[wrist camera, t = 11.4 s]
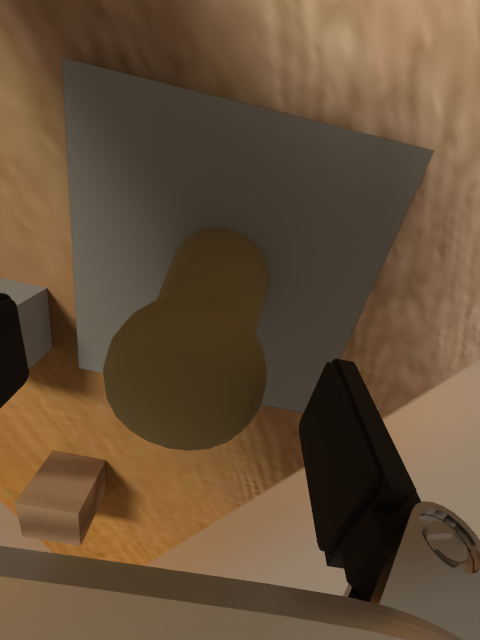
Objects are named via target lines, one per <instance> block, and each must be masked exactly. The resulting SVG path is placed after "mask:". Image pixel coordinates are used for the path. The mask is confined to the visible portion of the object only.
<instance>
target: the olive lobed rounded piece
mask: <svg viewBox="0 0 480 640" xmlns="http://www.w3.org/2000/svg"><path fill="white" fill-rule="evenodd" d="M269 278H270V276H269V270H268V265H267V261H266V259H265V257H264V255H263V254H262V252H261V250H260V248H259V247H258V246H257V245H256V244H255V243H254V242H252V241H251V240H250V239H249V238H248V237H247V236H245V235H243V234H241V233H238V232H236V231H234V230H232V229H223V228H211V229H206V230H201V231H198V232H197V233H195V234H193V235H192V236H190V237H188V238H187V239H185V241H184V242H183V243H182V244H181V246H180V247H179V248H178V249H177V251H176V252H175V255H174V257H173V260H172V262H171V265H170V267H169V270H168V272H167V275H166V277H165V280H164V282H163V285H162V287H161V290H160V292H159V295H158V297H157V300H156V301H153V302H152V303H150V304H148V305H146V306H145V307H143V308H141V309H139V310H137V311H136V312H134V313H133V314H132V315H131V316H130V317H129V318H128V319H127V321H126V322H125V323H124V324H123V325H122V327H121V328H120V329H119V330H118V332H117V333H116V334H115V335H114V337H113V338H112V340H111V343H110V346H109V349H108V352H107V356H106V360H105V363H104V367H103V375H104V382H105V389H106V395H107V400H108V402H109V404H110V406H111V408H112V409H113V411H114V413H115V415H116V417H117V418H118V419H119V420H120V421H121V422H122V423H123V424H124V425H125V426H126V427H127V428H128V429H129V430H130V431H132V432H134V433H135V434H137V435H138V436H140V437H142V438H143V439H145V440H147V441H148V442H151V443H154V444H157V445H160V446H163V447H166V448H171V449H180V450H188V451H190V450H200V449H209V448H212V447H215V446H218V445H220V444H223V443H226V442H228V441H229V440H231V439H232V438H233V437H235V436H236V435H237V434H239V433H240V432H241V431H242V430H243V429H244V428H245V427H246V426H247V425H248V424H249V423H250V422H251V420H252V419H253V417H254V416H255V414H256V413H257V411H258V410H259V408H260V406H261V403H262V400H263V397H264V392H265V386H266V381H267V366H266V361H265V356H264V352H263V347H262V344H261V342H260V340H259V339H258V337H257V335H256V331H257V327H258V324H259V320H260V317H261V313H262V309H263V306H264V302H265V298H266V295H267V291H268V285H269Z"/></svg>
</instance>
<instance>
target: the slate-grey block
mask: <svg viewBox="0 0 480 640" xmlns="http://www.w3.org/2000/svg"><path fill="white" fill-rule="evenodd" d="M0 293H5V294H8V295H9V296H10V297H11V299H12V300H13V301H15V303H16V305H17V309H18V315H19V320H20V326H21V331H22V336H23V342H24V347H25V353H26V358H27V363H28V369H30V368H31V367H32V366H33V365H34V364H35V363H36V362H38V361H39V360H40V359H41V358H42V357H43V356H44V355H45V354H47V353H48V352H49V351H50V350H51V349H52V337H51V327H50V316H49V305H48V294H47V288H45V287H40V286H36V285H31V284H27V283H22V282H18V281H13V280H9V279H4V278H0Z"/></svg>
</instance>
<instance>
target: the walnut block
mask: <svg viewBox="0 0 480 640" xmlns="http://www.w3.org/2000/svg"><path fill="white" fill-rule="evenodd" d="M105 492H106V460H102V459H97V458H91V457H86V456H81V455H75V454H70V453H64V452H59V451H54V450H53V451H52V452H51V453H50V455H49V456H48V458H47V459H46V460H45V462H44V463H43V465H42V466H41V467H40V469H39V470H38V471H37V473H36V474H35V476H34V477H33V478H32V480H31V481H30V483H29V484H28V485H27V487H26V488H25V489H24V491H23V492H22V494H21V495H20V496H19V498H18V499H17V501H16V502H15V506H16V510H17V514H18V518H19V522H20V526H21V530H22V534H23V536H25V537H31V538H37V539H42V540H48V541H54V542H60V543H66V544H72V545H77V546H81V544H82V542H83V540H84V537H85V535H86V533H87V531H88V529H89V527H90V525H91V522H92V520H93V518H94V516H95V514H96V512H97V510H98V507H99V505H100V503H101V501H102V499H103V497H104V495H105Z"/></svg>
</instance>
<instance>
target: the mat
mask: <svg viewBox="0 0 480 640" xmlns="http://www.w3.org/2000/svg"><path fill="white" fill-rule="evenodd" d="M62 69H63V87H64V106H65V124H66V142H67V160H68V179H69V197H70V215H71V234H72V252H73V270H74V288H75V307H76V325H77V343H78V362H79V368H80V369H85V370H90V371H95V372H100V373H103V367H104V363H105V360H106V356H107V352H108V349H109V346H110V343H111V340H112V338H113V337H114V335H115V334H116V333H117V332H118V330H119V329H120V328H121V327H122V325H123V324H124V323H125V322H126V321H127V319H128V318H129V317H130V316H131V315H132V314H133V313H134V312H136V311H137V310H139V309H141V308H143V307H145V306H146V305H148V304H150V303H152V302H153V301H156V300H157V297H158V295H159V292H160V290H161V287H162V285H163V282H164V280H165V277H166V275H167V272H168V270H169V267H170V265H171V262H172V260H173V257H174V255H175V252H176V251H177V249H178V248H179V247H180V246H181V244H182V243H183V242H184V241H185V239H187V238H188V237H190V236H192V235H193V234H195V233H197V232H198V231H201V230H206V229H211V228H223V229H232V230H234V231H236V232H238V233H241V234H243V235H245V236H247V237H248V238H249V239H250V240H251V241H252V242H254V243H255V244H256V245H257V246H258V247H259V248H260V250H261V252H262V254H263V255H264V257H265V259H266V261H267V265H268V270H269V276H270V278H269V285H268V291H267V295H266V298H265V302H264V306H263V309H262V313H261V317H260V320H259V324H258V327H257V331H256V335H257V337H258V339H259V340H260V342H261V344H262V347H263V352H264V356H265V361H266V366H267V381H266V386H265V392H264V397H263V400H262V403H261V405H266V406H271V407H276V408H281V409H286V410H291V411H296V412H301V413H304V411H305V409H306V407H307V404H308V402H309V400H310V398H311V395H312V393H313V391H314V389H315V387H316V384H317V382H318V380H319V378H320V375H321V373H322V371H323V369H324V366H325V365H326V363H327V362H332V361H333V360H334V359H340V358H341V356H342V354H343V351H344V349H345V347H346V345H347V342H348V340H349V338H350V336H351V334H352V331H353V329H354V327H355V325H356V323H357V320H358V318H359V316H360V314H361V312H362V309H363V307H364V305H365V303H366V300H367V298H368V296H369V294H370V292H371V289H372V287H373V285H374V283H375V281H376V278H377V276H378V274H379V272H380V270H381V267H382V265H383V263H384V261H385V258H386V256H387V254H388V252H389V250H390V247H391V245H392V243H393V241H394V239H395V236H396V234H397V232H398V230H399V228H400V225H401V223H402V221H403V219H404V216H405V214H406V212H407V210H408V208H409V205H410V203H411V201H412V199H413V197H414V194H415V192H416V190H417V188H418V186H419V183H420V181H421V179H422V177H423V175H424V172H425V170H426V168H427V166H428V163H429V161H430V159H431V157H432V155H433V152H434V151H433V150H429V149H425V148H421V147H417V146H413V145H409V144H405V143H401V142H397V141H393V140H389V139H385V138H381V137H377V136H373V135H369V134H365V133H361V132H357V131H353V130H349V129H345V128H341V127H337V126H333V125H329V124H325V123H321V122H317V121H313V120H309V119H305V118H301V117H297V116H293V115H289V114H285V113H281V112H277V111H273V110H269V109H265V108H262V107H258V106H254V105H250V104H246V103H242V102H238V101H234V100H230V99H226V98H222V97H218V96H214V95H210V94H206V93H202V92H198V91H194V90H190V89H186V88H182V87H178V86H174V85H170V84H166V83H162V82H158V81H154V80H150V79H146V78H142V77H138V76H134V75H130V74H126V73H122V72H118V71H114V70H110V69H106V68H102V67H98V66H94V65H90V64H86V63H82V62H78V61H74V60H70V59H66V58H62Z"/></svg>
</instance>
